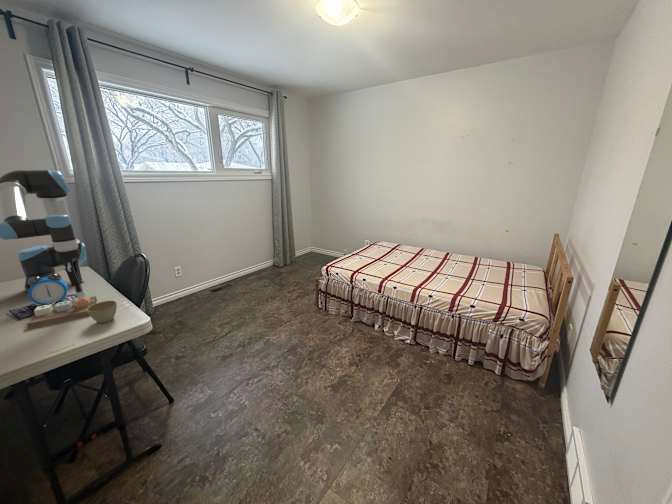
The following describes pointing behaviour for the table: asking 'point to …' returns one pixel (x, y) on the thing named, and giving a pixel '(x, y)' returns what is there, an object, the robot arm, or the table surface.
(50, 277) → the alarm clock
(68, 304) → the two-dot tile
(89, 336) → the table surface
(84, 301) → the tile
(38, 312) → the tile
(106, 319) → the beige bowl
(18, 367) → the table surface
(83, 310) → the board
